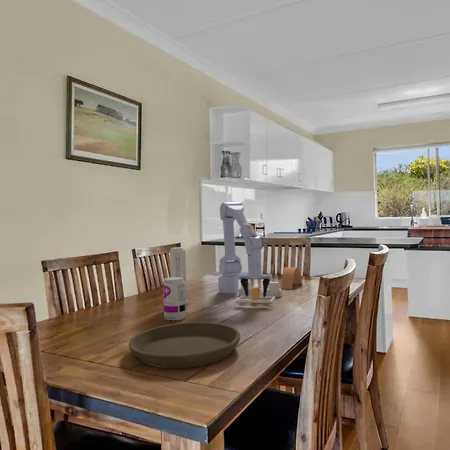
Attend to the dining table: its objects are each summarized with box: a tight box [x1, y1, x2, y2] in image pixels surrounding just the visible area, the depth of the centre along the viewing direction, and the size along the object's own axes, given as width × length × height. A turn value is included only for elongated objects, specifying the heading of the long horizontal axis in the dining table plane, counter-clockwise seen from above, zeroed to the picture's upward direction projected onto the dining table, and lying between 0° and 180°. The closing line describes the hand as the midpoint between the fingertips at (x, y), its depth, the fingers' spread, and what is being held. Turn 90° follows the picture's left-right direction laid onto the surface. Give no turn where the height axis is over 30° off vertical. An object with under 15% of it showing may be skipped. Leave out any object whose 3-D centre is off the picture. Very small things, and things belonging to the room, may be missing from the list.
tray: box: [235, 296, 276, 304], centre depth 172 cm, size 15×9×2 cm, turn 73°
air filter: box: [169, 246, 188, 308], centre depth 169 cm, size 6×6×25 cm
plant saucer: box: [128, 321, 241, 369], centre depth 113 cm, size 31×31×5 cm
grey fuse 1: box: [240, 281, 252, 294], centre depth 184 cm, size 4×2×6 cm, turn 73°
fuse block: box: [238, 287, 283, 298], centre depth 183 cm, size 19×7×4 cm, turn 73°
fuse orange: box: [251, 285, 261, 300], centre depth 172 cm, size 4×2×6 cm, turn 163°
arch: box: [280, 266, 303, 290], centre depth 205 cm, size 6×20×10 cm, turn 155°
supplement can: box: [162, 276, 187, 322], centre depth 150 cm, size 8×8×15 cm
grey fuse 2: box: [268, 281, 280, 294], centre depth 181 cm, size 4×2×6 cm, turn 73°
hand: (255, 296), depth 172 cm, fingers open, 7 cm apart
